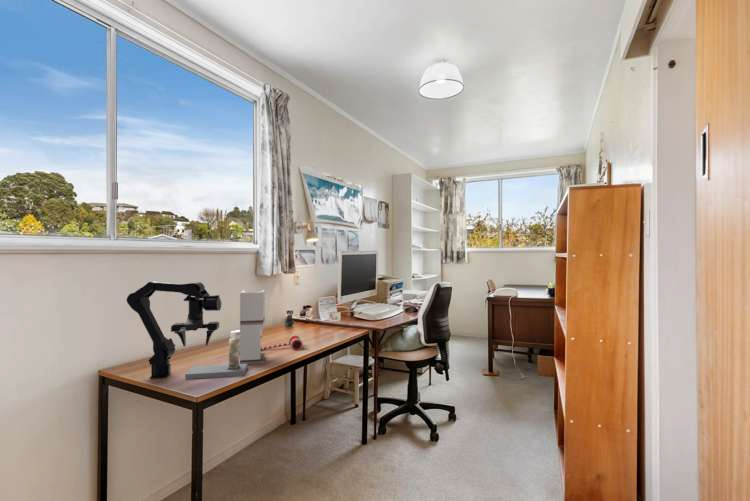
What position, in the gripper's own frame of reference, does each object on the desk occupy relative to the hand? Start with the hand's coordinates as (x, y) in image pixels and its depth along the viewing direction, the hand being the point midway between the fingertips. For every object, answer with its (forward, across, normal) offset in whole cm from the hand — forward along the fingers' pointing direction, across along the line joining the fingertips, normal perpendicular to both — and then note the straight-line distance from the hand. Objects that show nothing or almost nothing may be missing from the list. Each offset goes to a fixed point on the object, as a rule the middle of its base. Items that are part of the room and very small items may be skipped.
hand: (195, 345), depth 164 cm
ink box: (+13, +13, +36) cm, 40 cm away
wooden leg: (+13, +16, +1) cm, 21 cm away
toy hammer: (+14, +37, +39) cm, 55 cm away
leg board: (+13, +9, +1) cm, 16 cm away
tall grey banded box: (+13, +22, +18) cm, 31 cm away
